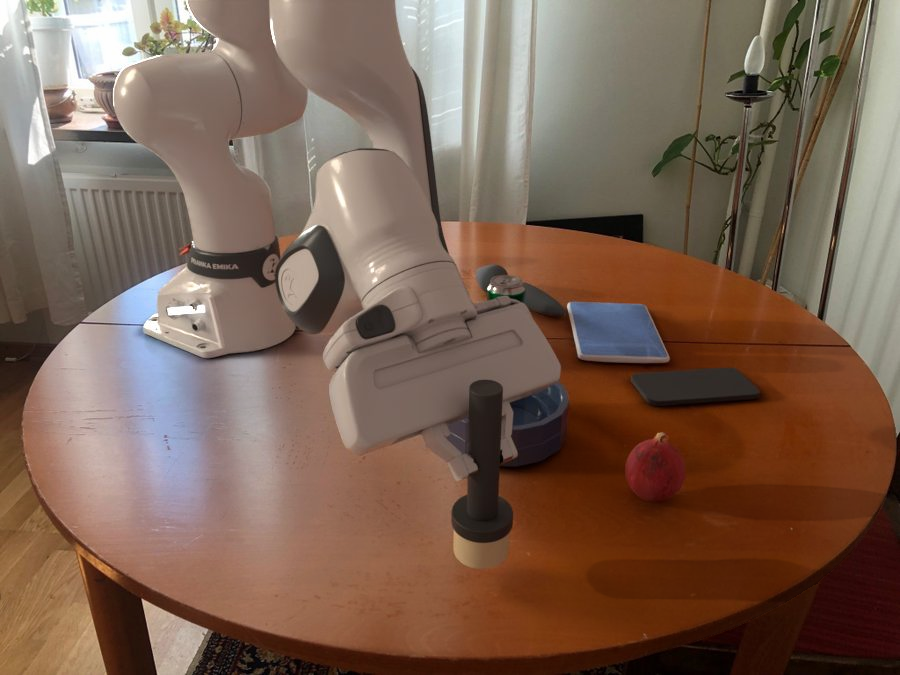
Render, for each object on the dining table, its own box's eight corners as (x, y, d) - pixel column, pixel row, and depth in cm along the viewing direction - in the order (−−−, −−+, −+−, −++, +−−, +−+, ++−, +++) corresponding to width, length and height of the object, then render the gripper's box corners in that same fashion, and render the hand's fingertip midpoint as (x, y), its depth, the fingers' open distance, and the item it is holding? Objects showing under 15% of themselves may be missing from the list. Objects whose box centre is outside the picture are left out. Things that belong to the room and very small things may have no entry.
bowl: (416, 452, 83) (416, 410, 80) (467, 392, 95) (468, 354, 92) (542, 486, 77) (545, 442, 75) (579, 417, 89) (583, 378, 87)
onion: (669, 526, 72) (681, 458, 68) (613, 506, 74) (621, 439, 71) (686, 494, 76) (698, 429, 73) (632, 476, 79) (641, 412, 75)
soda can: (526, 357, 103) (531, 277, 98) (514, 373, 99) (518, 290, 94) (493, 350, 105) (496, 271, 100) (479, 366, 101) (481, 284, 96)
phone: (764, 394, 93) (651, 402, 91) (762, 399, 93) (650, 408, 91) (734, 366, 99) (628, 373, 97) (733, 371, 100) (627, 378, 98)
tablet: (566, 307, 119) (566, 299, 118) (645, 309, 118) (646, 302, 118) (578, 364, 102) (578, 355, 101) (670, 367, 101) (672, 358, 100)
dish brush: (441, 560, 63) (441, 395, 56) (465, 523, 67) (467, 366, 60) (498, 578, 61) (506, 410, 54) (519, 539, 65) (529, 379, 58)
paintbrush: (577, 313, 117) (580, 284, 114) (559, 323, 113) (562, 293, 111) (480, 282, 128) (481, 255, 126) (462, 290, 125) (462, 262, 123)
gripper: (503, 305, 71) (564, 439, 68) (303, 360, 61) (365, 520, 57) (535, 276, 65) (603, 420, 62) (323, 330, 55) (391, 505, 52)
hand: (487, 469), depth 60 cm, fingers closed on dish brush, 2 cm apart
